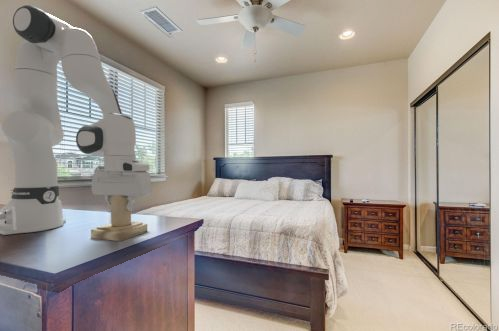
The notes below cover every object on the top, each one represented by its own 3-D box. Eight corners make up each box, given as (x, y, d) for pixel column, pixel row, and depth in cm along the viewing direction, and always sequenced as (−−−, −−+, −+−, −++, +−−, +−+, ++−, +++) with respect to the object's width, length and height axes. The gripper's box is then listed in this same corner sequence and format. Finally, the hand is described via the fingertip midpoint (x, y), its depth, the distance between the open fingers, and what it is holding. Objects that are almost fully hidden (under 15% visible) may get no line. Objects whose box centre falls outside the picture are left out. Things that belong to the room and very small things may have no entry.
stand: (91, 237, 74) (90, 227, 74) (120, 228, 84) (120, 219, 84) (120, 241, 71) (120, 230, 71) (147, 231, 81) (147, 222, 81)
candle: (118, 222, 81) (118, 191, 81) (134, 222, 80) (134, 191, 80) (107, 226, 75) (106, 193, 75) (124, 226, 75) (123, 193, 75)
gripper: (85, 165, 78) (86, 209, 78) (139, 165, 71) (139, 213, 71) (103, 165, 84) (103, 206, 84) (154, 165, 77) (154, 209, 77)
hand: (120, 209), depth 77 cm, fingers closed on candle, 5 cm apart
